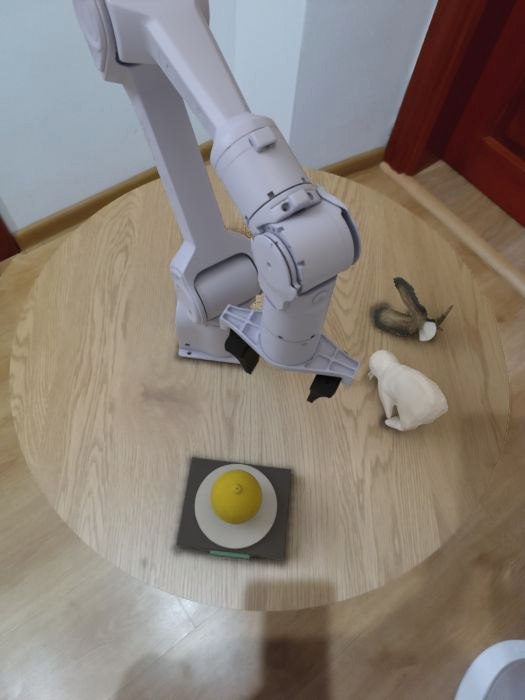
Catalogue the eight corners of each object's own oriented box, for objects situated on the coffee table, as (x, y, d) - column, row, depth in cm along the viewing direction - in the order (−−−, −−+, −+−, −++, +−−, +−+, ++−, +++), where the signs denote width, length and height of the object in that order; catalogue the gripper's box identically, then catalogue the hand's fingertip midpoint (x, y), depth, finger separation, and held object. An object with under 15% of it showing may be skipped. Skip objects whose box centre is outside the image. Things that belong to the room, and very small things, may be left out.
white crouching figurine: (416, 419, 57) (362, 339, 63) (397, 448, 64) (351, 373, 70) (461, 400, 59) (405, 323, 65) (438, 429, 66) (390, 358, 72)
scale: (177, 551, 58) (175, 548, 55) (193, 461, 62) (191, 455, 60) (281, 564, 58) (284, 561, 55) (289, 473, 62) (291, 467, 60)
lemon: (226, 539, 56) (226, 527, 49) (203, 494, 58) (199, 478, 51) (269, 513, 57) (274, 498, 50) (245, 471, 59) (247, 451, 52)
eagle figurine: (445, 304, 74) (392, 275, 74) (462, 305, 67) (403, 272, 67) (418, 349, 75) (365, 320, 75) (432, 355, 68) (373, 323, 68)
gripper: (383, 313, 46) (354, 379, 58) (242, 254, 49) (241, 328, 61) (356, 375, 43) (330, 431, 55) (206, 308, 46) (213, 375, 57)
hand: (282, 380), depth 57 cm, fingers open, 7 cm apart
